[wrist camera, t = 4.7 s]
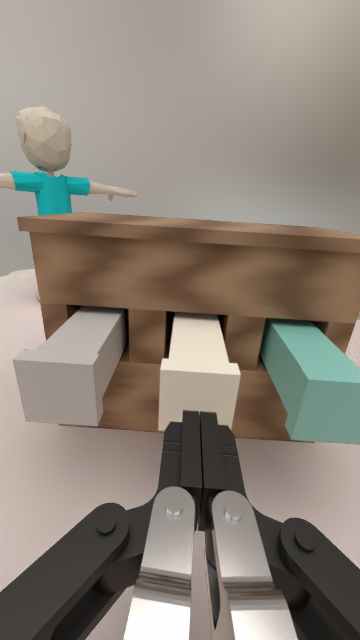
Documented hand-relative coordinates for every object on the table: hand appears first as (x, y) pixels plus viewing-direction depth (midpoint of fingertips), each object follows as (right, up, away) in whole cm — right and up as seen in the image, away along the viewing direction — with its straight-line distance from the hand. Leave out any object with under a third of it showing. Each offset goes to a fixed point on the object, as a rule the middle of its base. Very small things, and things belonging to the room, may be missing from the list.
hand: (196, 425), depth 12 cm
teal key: (+7, +1, +6) cm, 9 cm away
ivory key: (0, +1, +6) cm, 6 cm away
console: (0, -3, +16) cm, 16 cm away
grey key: (-7, +1, +6) cm, 9 cm away
